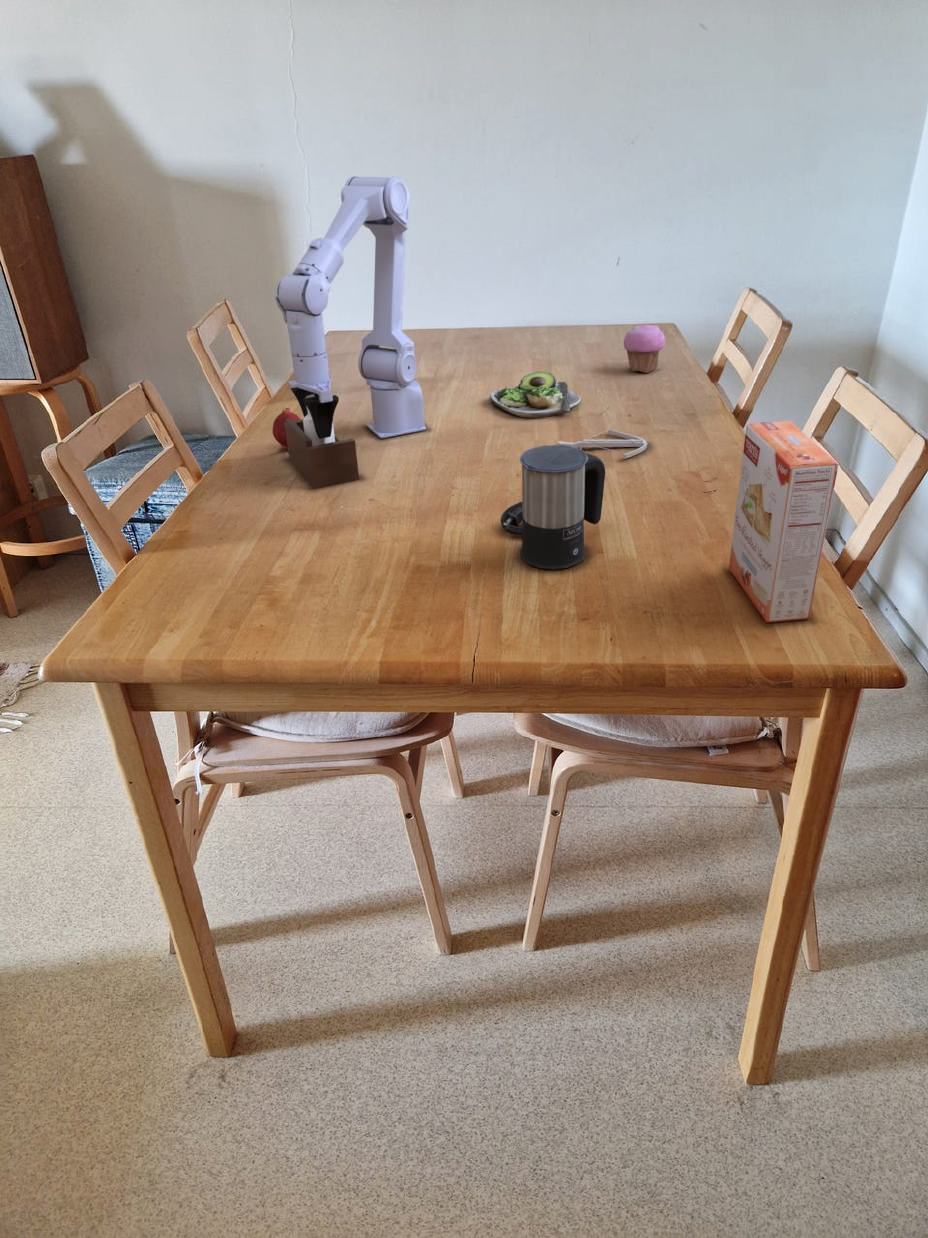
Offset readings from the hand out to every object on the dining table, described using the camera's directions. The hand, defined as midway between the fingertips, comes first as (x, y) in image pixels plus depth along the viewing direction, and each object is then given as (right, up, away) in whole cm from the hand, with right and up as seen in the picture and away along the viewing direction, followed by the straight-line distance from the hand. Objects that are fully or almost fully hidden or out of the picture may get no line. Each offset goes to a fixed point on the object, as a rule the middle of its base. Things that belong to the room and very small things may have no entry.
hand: (319, 431), depth 154 cm
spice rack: (0, -6, +4) cm, 7 cm away
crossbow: (+50, -2, +7) cm, 50 cm away
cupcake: (+65, +23, +46) cm, 82 cm away
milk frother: (+36, -21, -24) cm, 48 cm away
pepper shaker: (0, -3, +2) cm, 3 cm away
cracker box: (+64, -29, -38) cm, 80 cm away
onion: (-7, -1, +13) cm, 15 cm away
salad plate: (+40, +12, +29) cm, 51 cm away
